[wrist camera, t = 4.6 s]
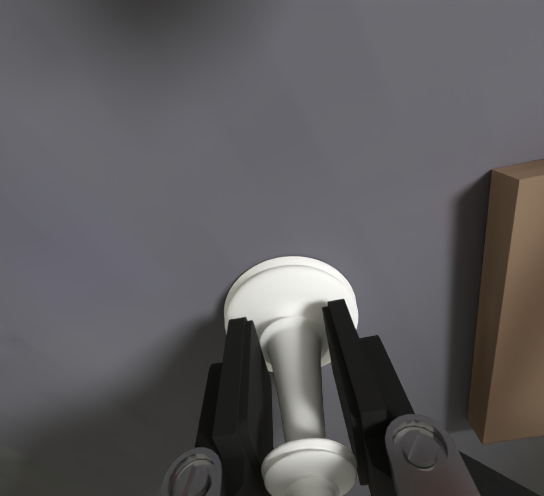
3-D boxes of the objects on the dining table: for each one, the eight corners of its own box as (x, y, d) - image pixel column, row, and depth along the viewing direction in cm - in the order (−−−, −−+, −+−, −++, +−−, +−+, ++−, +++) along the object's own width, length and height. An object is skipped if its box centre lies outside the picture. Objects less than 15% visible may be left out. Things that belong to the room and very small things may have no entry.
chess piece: (204, 276, 11) (-5, 967, 2) (341, 239, 11) (703, 937, 2) (248, 373, 14) (222, 928, 5) (365, 345, 13) (587, 909, 4)
